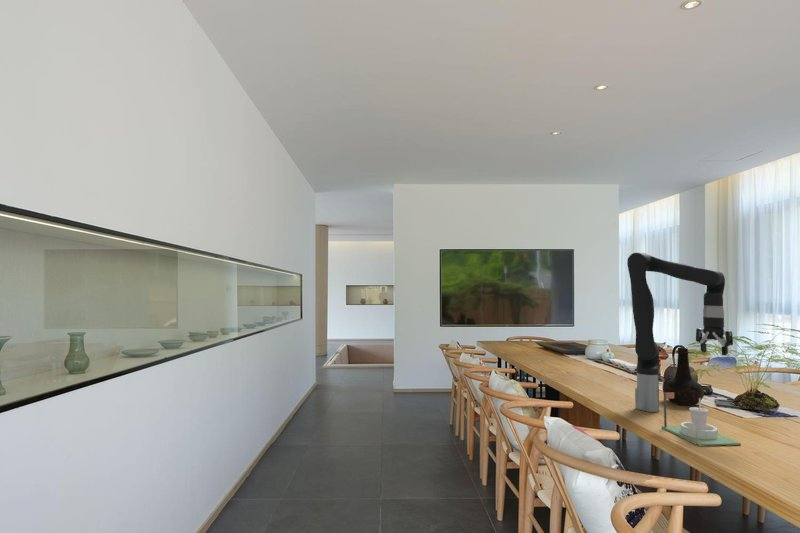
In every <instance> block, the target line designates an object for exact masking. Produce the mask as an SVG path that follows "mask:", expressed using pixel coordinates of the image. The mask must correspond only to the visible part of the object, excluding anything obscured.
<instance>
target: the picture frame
mask: <svg viewBox="0 0 800 533" xmlns="http://www.w3.org/2000/svg"><path fill="white" fill-rule="evenodd" d="M733 401H734V400H731V399H730V400H729V399H720V398H714V403H715V402H716V403H715V406H716V407H718V406H724V407H723V408H727V407H731V408H730V409H736V408H740V407H739V406H734V405H735V404H734V403H732V402H733Z"/></svg>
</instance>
